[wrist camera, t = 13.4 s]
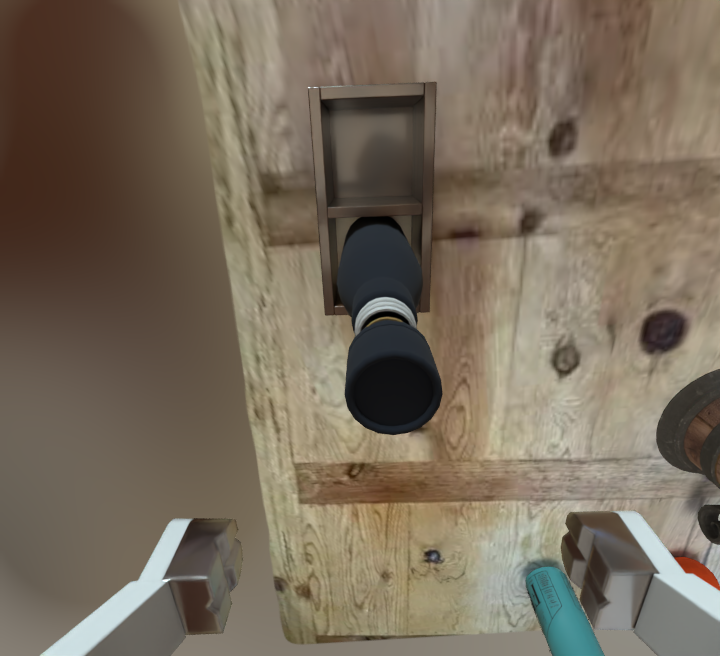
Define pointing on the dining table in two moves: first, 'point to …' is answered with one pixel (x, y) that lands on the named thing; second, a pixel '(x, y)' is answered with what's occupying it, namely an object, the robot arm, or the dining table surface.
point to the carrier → (373, 169)
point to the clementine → (698, 570)
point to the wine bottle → (386, 330)
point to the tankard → (695, 439)
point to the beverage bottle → (561, 614)
